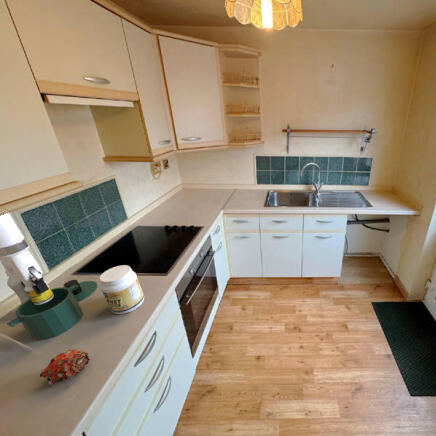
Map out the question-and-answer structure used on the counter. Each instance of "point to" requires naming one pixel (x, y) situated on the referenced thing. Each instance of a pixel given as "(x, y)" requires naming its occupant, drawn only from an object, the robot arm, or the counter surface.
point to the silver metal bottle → (17, 288)
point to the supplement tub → (121, 289)
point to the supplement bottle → (33, 296)
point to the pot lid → (82, 289)
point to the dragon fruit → (65, 365)
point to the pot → (50, 314)
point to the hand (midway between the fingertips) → (37, 289)
